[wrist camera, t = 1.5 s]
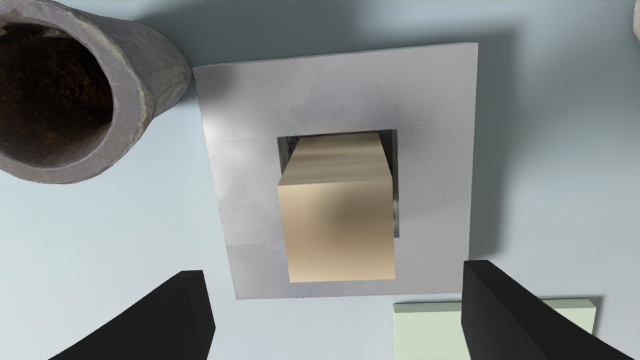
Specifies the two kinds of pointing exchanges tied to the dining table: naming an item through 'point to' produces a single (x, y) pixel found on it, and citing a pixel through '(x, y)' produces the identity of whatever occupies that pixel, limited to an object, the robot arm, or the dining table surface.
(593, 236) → the dining table surface
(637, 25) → the pastry
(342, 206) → the key peg
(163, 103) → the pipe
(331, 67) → the socket block
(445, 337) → the pad
